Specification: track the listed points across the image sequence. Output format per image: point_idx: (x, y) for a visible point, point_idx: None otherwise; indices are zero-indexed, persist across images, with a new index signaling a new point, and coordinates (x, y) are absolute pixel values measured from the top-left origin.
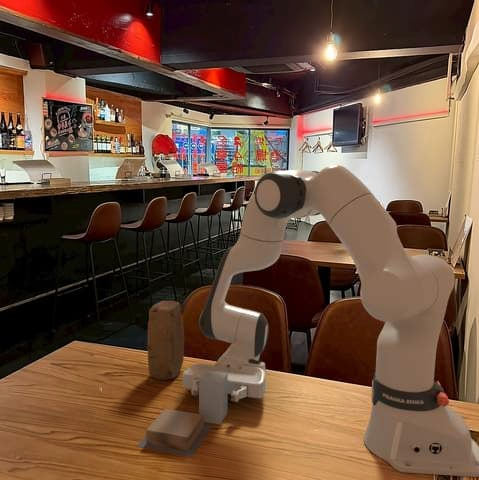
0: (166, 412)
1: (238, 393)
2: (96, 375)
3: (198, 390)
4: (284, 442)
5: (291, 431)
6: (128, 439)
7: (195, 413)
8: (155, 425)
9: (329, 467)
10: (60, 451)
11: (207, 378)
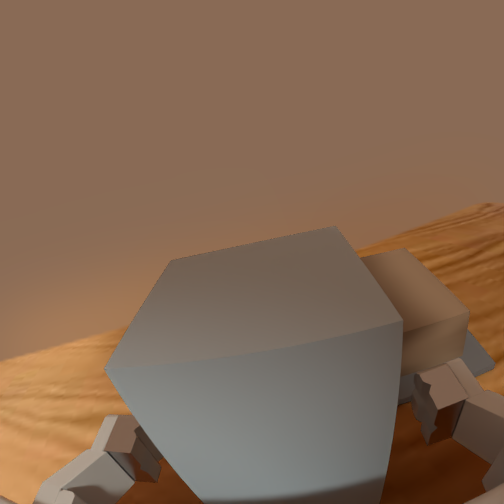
0: (442, 302)
1: (100, 433)
2: None
3: (426, 405)
4: (45, 418)
5: (13, 461)
6: (459, 280)
7: None
8: (403, 262)
9: (9, 370)
10: (497, 227)
11: (288, 252)
